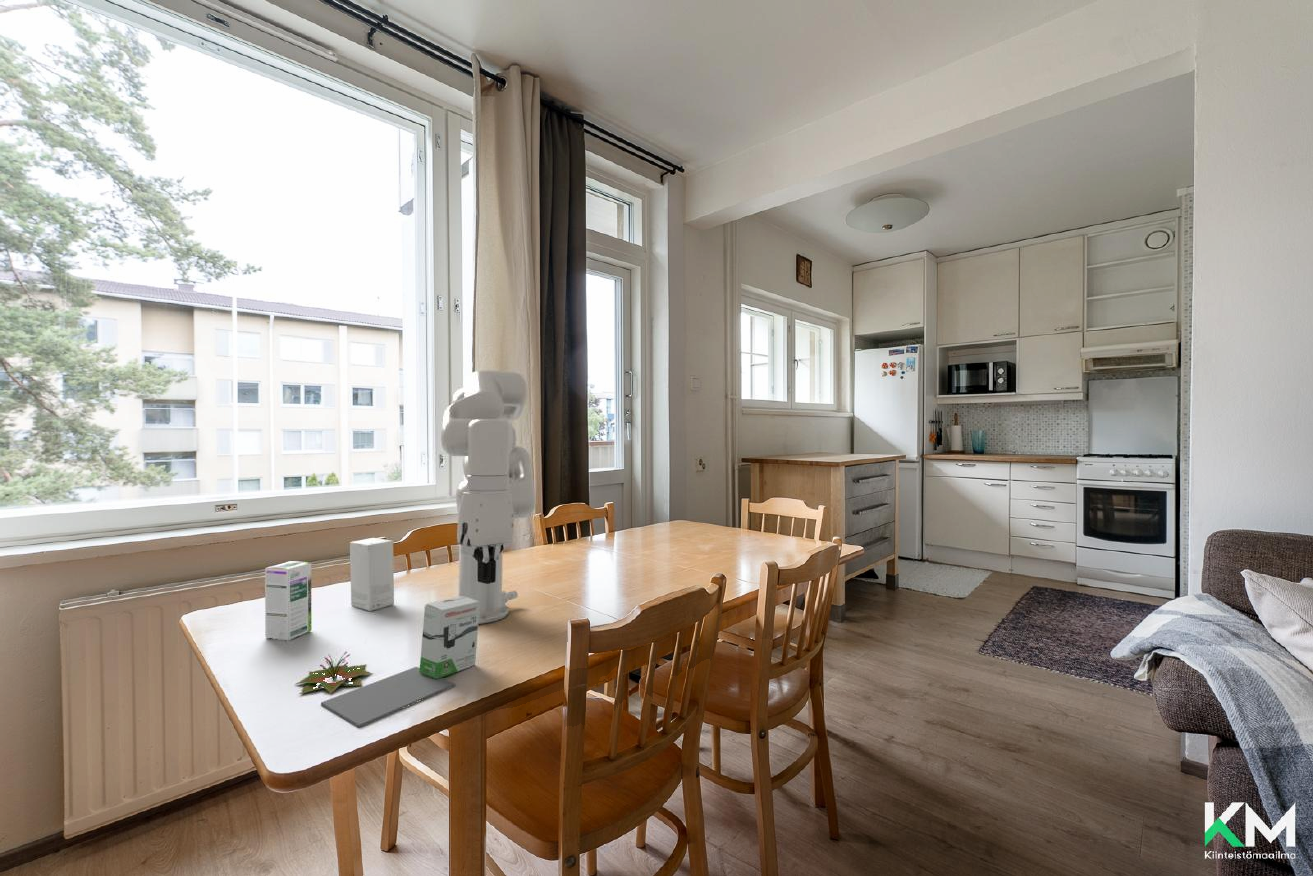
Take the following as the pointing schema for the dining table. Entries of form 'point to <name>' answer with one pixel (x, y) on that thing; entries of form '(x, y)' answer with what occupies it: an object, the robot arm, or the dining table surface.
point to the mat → (385, 696)
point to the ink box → (449, 636)
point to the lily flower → (331, 673)
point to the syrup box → (288, 600)
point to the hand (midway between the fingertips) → (486, 581)
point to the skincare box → (372, 573)
